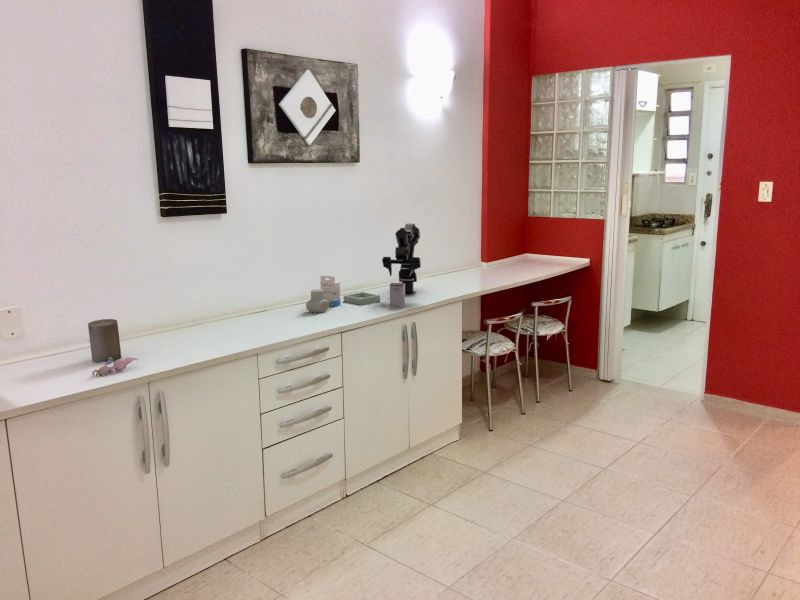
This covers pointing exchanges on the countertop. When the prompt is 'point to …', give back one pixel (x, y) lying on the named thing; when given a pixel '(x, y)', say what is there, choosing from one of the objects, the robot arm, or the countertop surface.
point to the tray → (361, 298)
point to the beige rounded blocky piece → (317, 302)
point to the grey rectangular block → (397, 294)
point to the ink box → (331, 290)
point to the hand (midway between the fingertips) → (399, 276)
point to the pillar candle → (104, 340)
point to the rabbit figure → (114, 365)
